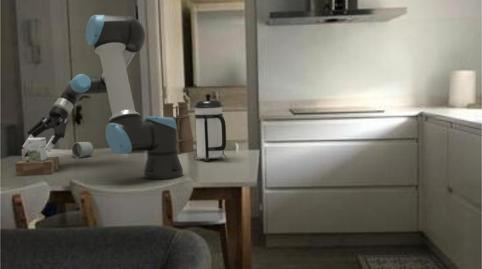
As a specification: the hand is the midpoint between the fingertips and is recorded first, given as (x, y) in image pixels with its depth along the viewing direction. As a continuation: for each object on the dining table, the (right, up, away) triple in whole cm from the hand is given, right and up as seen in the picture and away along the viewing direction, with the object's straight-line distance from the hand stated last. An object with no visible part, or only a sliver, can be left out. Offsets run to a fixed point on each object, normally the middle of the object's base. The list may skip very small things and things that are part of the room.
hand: (35, 149), depth 226 cm
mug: (-11, -7, +27) cm, 30 cm away
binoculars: (+54, -3, +46) cm, 71 cm away
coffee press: (+73, -6, +19) cm, 76 cm away
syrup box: (+1, -10, +1) cm, 10 cm away
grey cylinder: (+7, -5, +41) cm, 42 cm away
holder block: (+1, -10, +1) cm, 10 cm away
